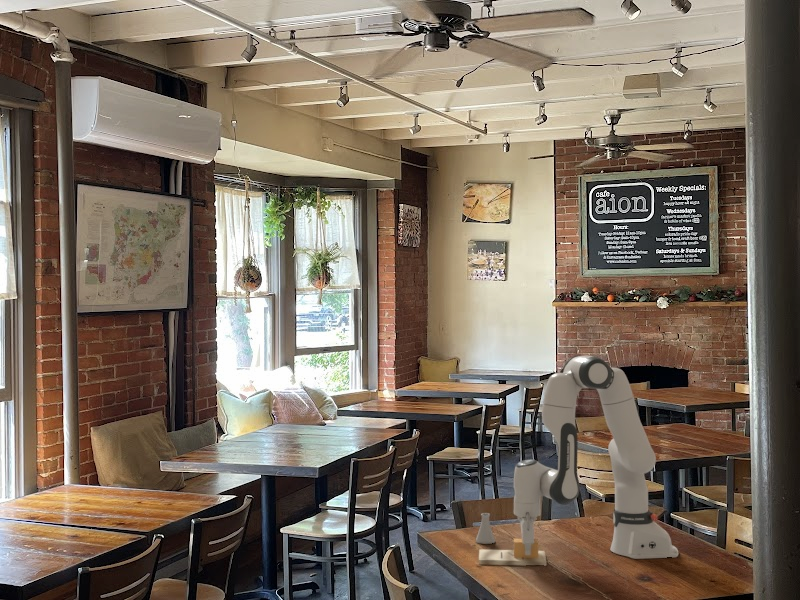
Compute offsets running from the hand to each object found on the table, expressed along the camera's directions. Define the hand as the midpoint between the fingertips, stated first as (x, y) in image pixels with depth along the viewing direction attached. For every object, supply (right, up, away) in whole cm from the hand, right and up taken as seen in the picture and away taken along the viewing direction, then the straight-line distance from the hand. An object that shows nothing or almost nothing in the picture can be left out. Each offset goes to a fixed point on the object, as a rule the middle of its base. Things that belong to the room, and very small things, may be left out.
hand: (527, 550), depth 311 cm
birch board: (-5, -3, +1) cm, 6 cm away
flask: (-12, -3, +22) cm, 25 cm away
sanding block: (0, -2, 0) cm, 2 cm away
